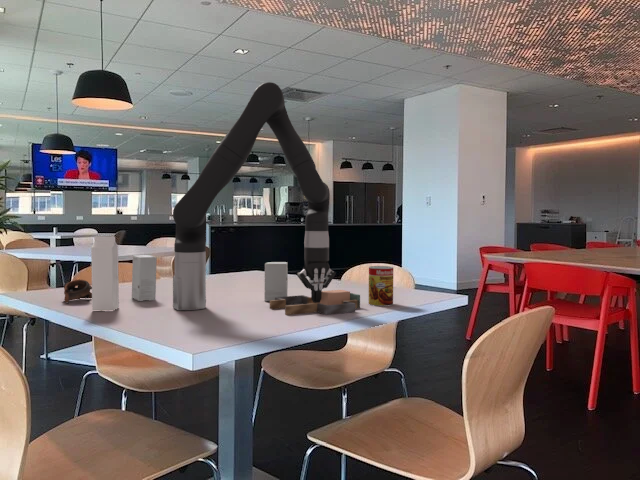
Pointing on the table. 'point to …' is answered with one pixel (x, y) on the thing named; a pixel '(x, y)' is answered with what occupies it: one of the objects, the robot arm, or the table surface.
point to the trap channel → (314, 305)
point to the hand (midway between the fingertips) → (316, 302)
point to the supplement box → (276, 280)
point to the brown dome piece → (77, 290)
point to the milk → (105, 273)
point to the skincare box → (144, 277)
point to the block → (334, 297)
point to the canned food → (380, 285)
